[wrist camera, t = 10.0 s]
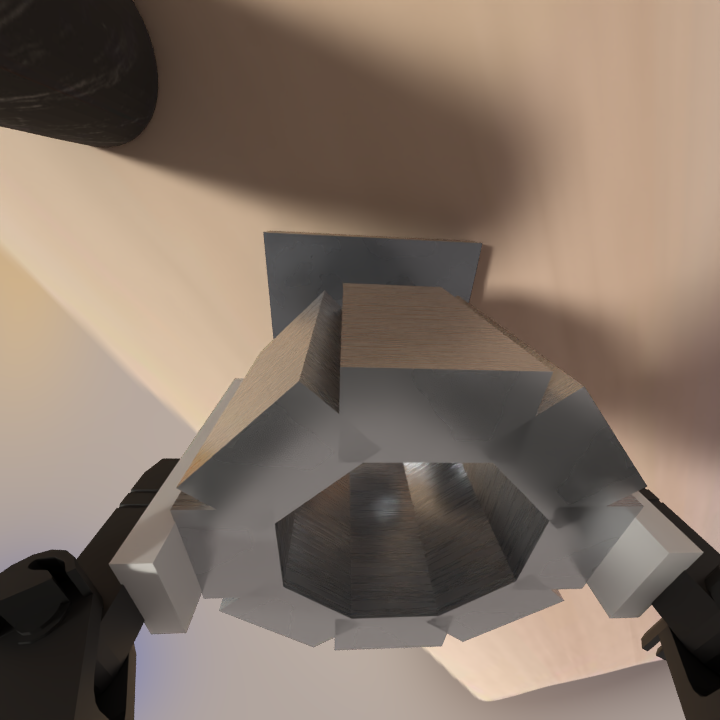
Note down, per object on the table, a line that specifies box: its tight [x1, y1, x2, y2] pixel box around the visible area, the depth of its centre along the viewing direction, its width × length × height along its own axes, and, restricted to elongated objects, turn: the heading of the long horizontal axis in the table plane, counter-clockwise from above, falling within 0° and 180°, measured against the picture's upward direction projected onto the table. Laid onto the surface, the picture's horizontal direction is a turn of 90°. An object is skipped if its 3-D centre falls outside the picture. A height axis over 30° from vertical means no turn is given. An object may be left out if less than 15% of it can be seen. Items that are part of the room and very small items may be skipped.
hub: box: [170, 283, 647, 650], centre depth 9 cm, size 10×10×6 cm
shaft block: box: [263, 231, 482, 339], centre depth 15 cm, size 12×12×10 cm
